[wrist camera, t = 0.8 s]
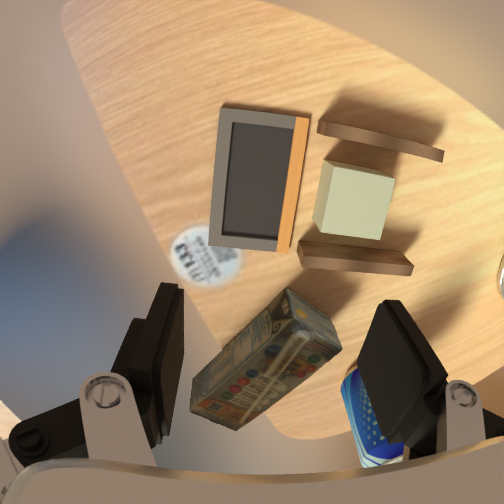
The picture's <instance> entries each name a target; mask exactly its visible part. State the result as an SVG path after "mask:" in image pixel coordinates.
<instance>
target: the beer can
mask: <svg viewBox="0 0 504 504" xmlns="http://www.w3.org/2000/svg"><path fill="white" fill-rule="evenodd" d="M341 393H342V397H343V400H344V404H345V407H346V411H347V414H348V417H349V421H350V424H351V428H352V432H353V435H354V439H355V442H356V446H357V449H358V453H359V457H360V461H361V464H362V466H363V467H364V468H367V467H373V466H380V465H386V464H391V463H397V462H402V458H403V451H404V446H405V445H404V443H403V441H402V442H400V443H394V444H388V442H387V439H386V437H384V436H383V435H382V434H381V431H380V428H379V425H378V422H377V420H376V417H375V414H374V411H373V408H372V406H371V403H370V400H369V397H368V394H367V392H366V389H365V386H364V384H363V381H362V378H361V375H360V373H359V370H358V367H357V365H355V366H354V367H352V368H351V369H350V370H349V371H348V372H347V374H346V376H345V378H344V380H343V382H342V385H341Z"/></svg>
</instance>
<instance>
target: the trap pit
mask: <svg viewBox="0 0 504 504" xmlns="http://www.w3.org/2000/svg"><path fill="white" fill-rule="evenodd" d="M308 125H309V119H308V118H302V117H296V116H289V115H282V114H275V113H267V112H258V111H249V110H240V109H229V108H220V115H219V124H218V134H217V144H216V155H215V165H214V177H213V188H212V201H211V214H210V227H209V242H208V246H218V247H229V248H240V249H250V250H261V251H272V252H282V253H288V250H289V244H290V238H291V232H292V227H293V221H294V215H295V209H296V203H297V197H298V190H299V184H300V178H301V171H302V165H303V158H304V152H305V145H306V138H307V132H308Z"/></svg>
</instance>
